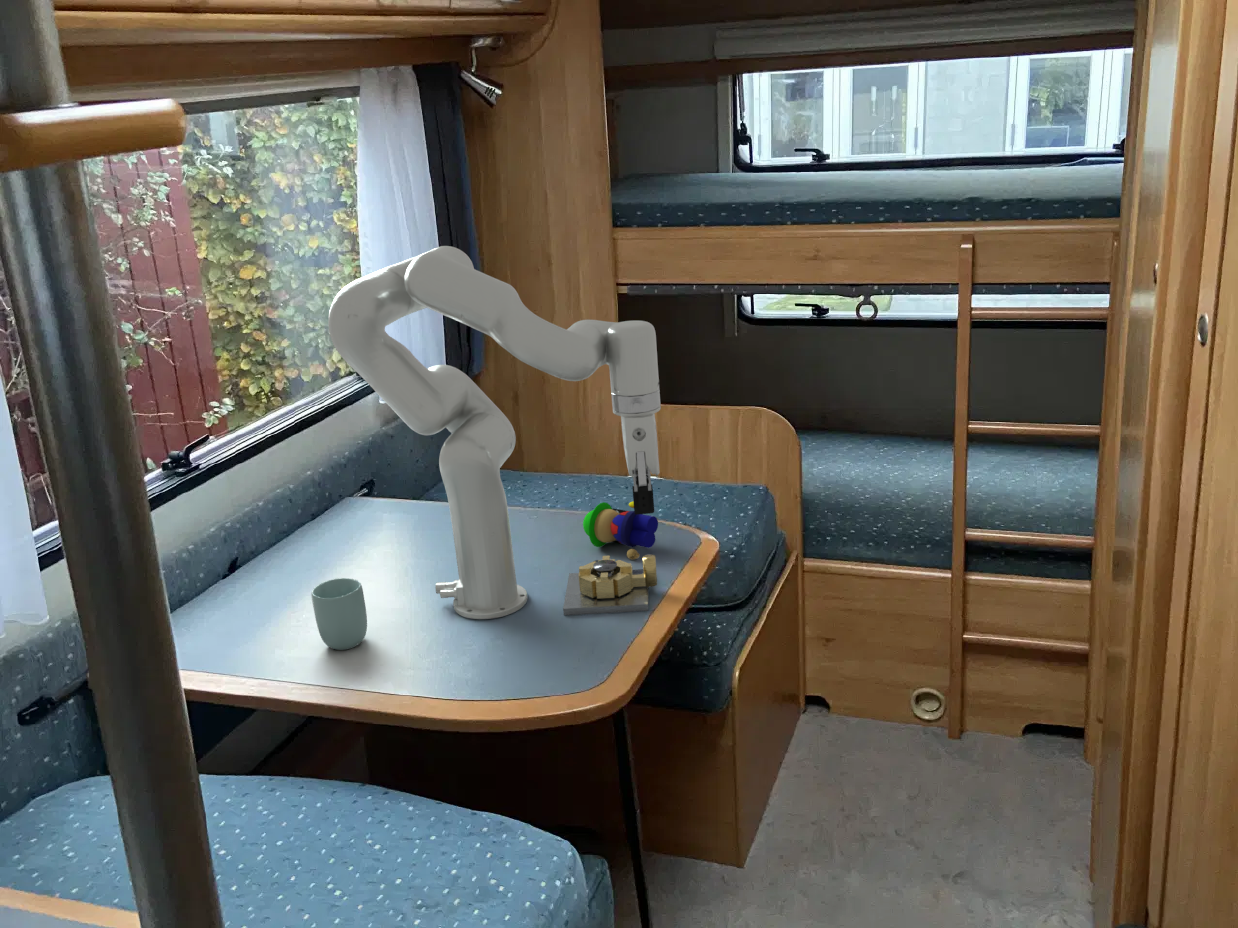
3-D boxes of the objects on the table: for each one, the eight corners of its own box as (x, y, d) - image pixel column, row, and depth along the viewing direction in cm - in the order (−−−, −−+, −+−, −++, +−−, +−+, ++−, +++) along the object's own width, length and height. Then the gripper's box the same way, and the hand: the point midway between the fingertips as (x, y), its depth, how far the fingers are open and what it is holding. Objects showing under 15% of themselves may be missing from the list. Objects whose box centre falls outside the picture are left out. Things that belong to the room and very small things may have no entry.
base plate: (563, 615, 186) (560, 584, 184) (570, 578, 199) (567, 549, 198) (648, 610, 185) (645, 579, 183) (648, 573, 199) (646, 544, 197)
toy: (673, 508, 210) (605, 497, 218) (653, 494, 203) (584, 483, 210) (656, 569, 207) (589, 555, 215) (635, 557, 200) (566, 543, 208)
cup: (346, 659, 177) (336, 602, 173) (311, 650, 181) (300, 593, 177) (380, 638, 183) (371, 582, 180) (345, 629, 187) (336, 574, 184)
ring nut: (578, 599, 187) (576, 572, 186) (582, 576, 196) (579, 550, 194) (657, 595, 187) (655, 567, 185) (657, 572, 195) (655, 546, 193)
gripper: (663, 413, 167) (670, 527, 173) (657, 386, 182) (664, 492, 188) (612, 417, 167) (622, 531, 173) (611, 390, 182) (619, 496, 188)
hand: (644, 510), depth 181 cm, fingers closed
